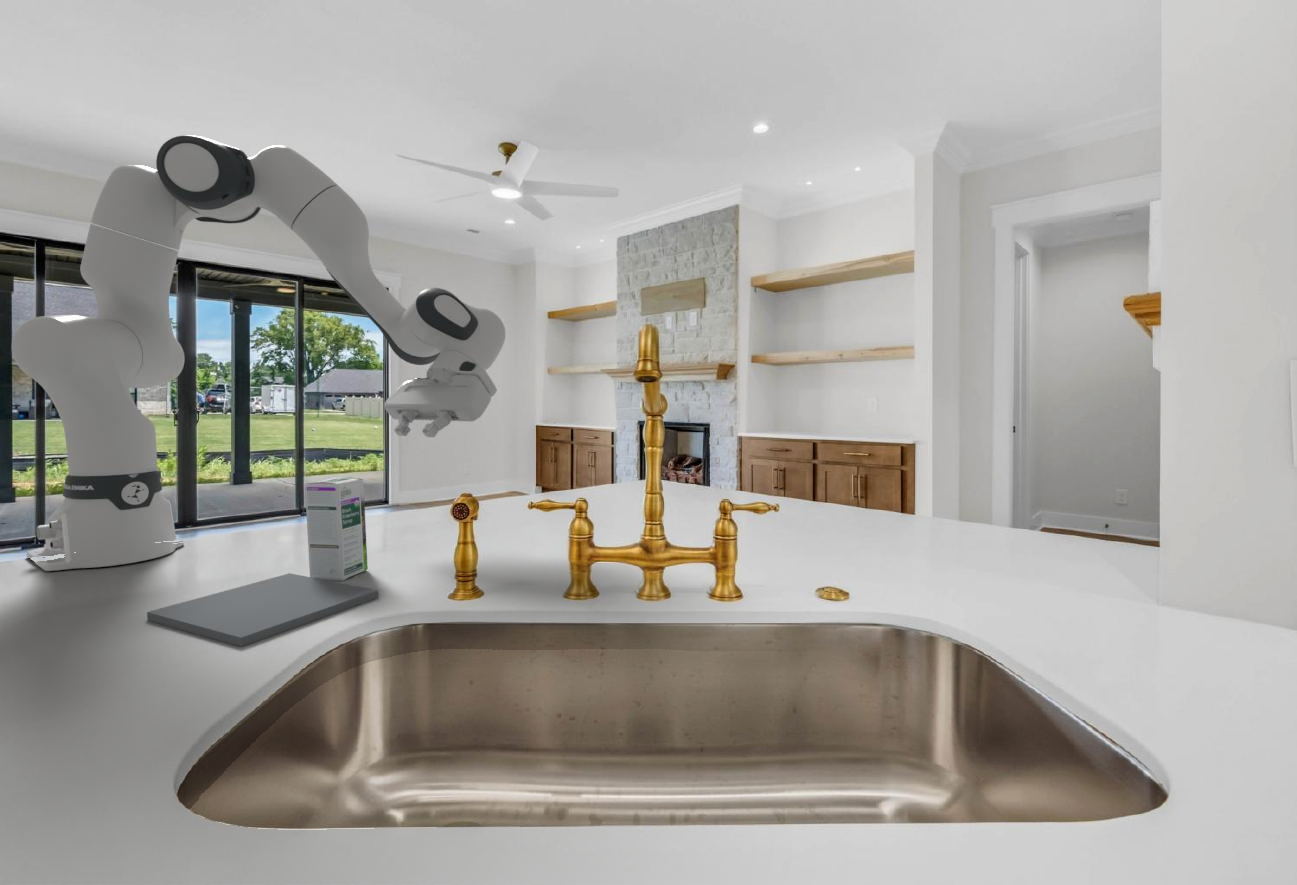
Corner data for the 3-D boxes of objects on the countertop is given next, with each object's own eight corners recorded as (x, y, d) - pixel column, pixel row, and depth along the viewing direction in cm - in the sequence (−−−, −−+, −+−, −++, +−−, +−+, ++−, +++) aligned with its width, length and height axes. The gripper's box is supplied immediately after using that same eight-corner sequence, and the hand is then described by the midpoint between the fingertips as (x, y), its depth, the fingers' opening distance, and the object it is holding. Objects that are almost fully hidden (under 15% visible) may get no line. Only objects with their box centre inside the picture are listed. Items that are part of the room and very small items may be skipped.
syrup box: (343, 581, 89) (339, 482, 88) (307, 578, 91) (304, 481, 90) (368, 570, 95) (365, 477, 94) (334, 568, 96) (331, 476, 95)
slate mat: (147, 620, 74) (146, 611, 74) (289, 579, 90) (289, 573, 90) (241, 646, 66) (240, 637, 66) (378, 597, 82) (378, 590, 82)
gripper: (401, 366, 115) (359, 420, 107) (488, 364, 107) (448, 423, 99) (420, 390, 120) (380, 444, 112) (504, 390, 111) (468, 448, 103)
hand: (413, 434), depth 105 cm, fingers open, 5 cm apart
